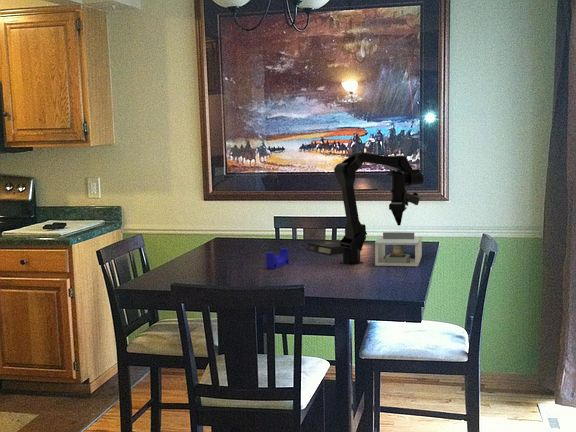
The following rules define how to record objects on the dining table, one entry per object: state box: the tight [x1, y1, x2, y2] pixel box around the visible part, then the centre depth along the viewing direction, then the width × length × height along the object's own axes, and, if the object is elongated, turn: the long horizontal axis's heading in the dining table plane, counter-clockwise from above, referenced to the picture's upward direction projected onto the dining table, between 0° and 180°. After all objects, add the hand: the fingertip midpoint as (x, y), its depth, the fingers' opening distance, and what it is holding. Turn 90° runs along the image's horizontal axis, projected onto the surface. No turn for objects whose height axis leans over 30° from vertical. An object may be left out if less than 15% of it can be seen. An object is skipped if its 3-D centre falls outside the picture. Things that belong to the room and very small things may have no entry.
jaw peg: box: [392, 245, 404, 257], centre depth 272 cm, size 4×4×6 cm
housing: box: [374, 235, 423, 267], centre depth 279 cm, size 24×16×8 cm, turn 166°
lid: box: [374, 231, 420, 246], centre depth 272 cm, size 11×16×3 cm
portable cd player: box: [307, 239, 363, 256], centre depth 306 cm, size 16×17×4 cm
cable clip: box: [265, 248, 290, 270], centre depth 276 cm, size 12×4×6 cm, turn 150°
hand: (399, 225), depth 286 cm, fingers closed
